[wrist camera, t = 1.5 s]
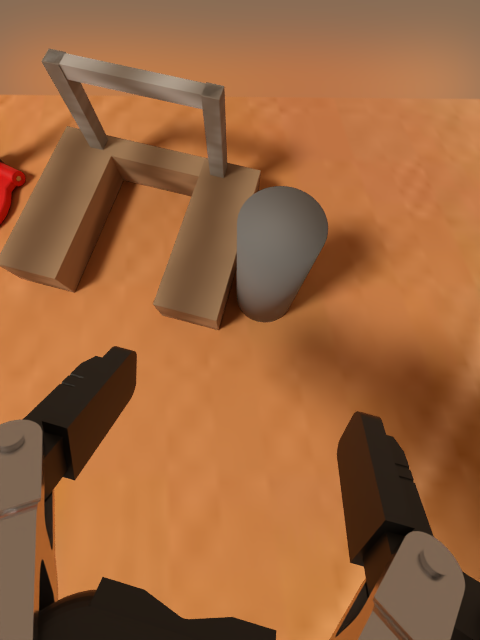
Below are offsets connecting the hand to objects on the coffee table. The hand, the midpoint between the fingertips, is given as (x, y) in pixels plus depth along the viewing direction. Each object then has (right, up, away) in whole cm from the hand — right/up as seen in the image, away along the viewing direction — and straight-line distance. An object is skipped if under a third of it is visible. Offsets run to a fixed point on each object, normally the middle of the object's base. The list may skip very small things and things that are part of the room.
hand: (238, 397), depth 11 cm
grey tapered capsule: (+2, +5, +16) cm, 17 cm away
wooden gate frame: (-9, +11, +17) cm, 22 cm away
